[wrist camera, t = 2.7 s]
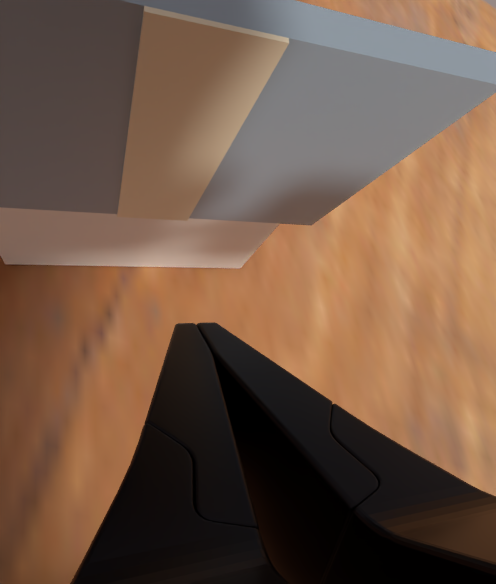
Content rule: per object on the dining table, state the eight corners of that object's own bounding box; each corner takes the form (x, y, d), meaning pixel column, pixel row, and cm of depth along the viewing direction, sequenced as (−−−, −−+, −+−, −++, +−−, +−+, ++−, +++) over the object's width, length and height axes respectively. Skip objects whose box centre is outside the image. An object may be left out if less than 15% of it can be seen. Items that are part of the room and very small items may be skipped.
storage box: (240, 268, 24) (300, 200, 17) (5, 264, 20) (-45, 173, 13) (227, 149, 27) (276, 45, 19) (13, 124, 23) (-25, -19, 15)
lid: (309, 206, 17) (311, 227, 17) (-57, 179, 13) (-59, 207, 13) (497, 53, 9) (505, 90, 9) (-309, -156, 5) (-323, -91, 5)
